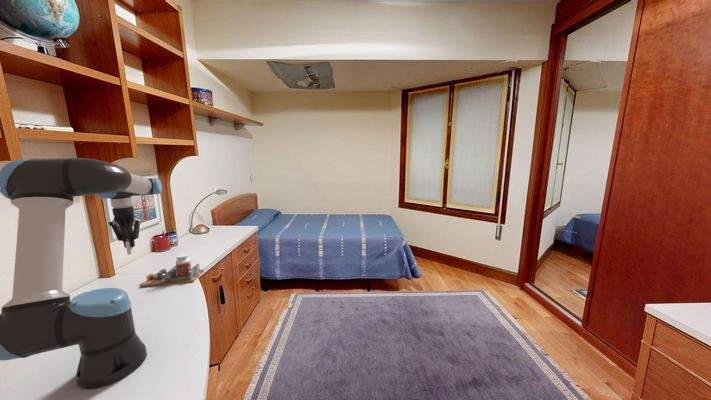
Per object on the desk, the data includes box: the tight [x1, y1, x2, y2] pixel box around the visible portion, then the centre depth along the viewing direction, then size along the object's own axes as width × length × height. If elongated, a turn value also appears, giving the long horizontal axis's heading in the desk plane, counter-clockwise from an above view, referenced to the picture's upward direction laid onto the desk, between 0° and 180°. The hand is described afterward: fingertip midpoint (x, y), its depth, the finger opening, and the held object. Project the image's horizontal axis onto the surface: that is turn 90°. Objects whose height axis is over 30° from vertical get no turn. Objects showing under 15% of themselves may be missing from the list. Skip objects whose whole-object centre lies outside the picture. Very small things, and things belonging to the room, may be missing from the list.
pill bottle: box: [175, 253, 192, 278], centre depth 132 cm, size 6×6×11 cm
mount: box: [139, 263, 205, 288], centre depth 132 cm, size 13×24×5 cm, turn 101°
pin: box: [146, 273, 165, 281], centre depth 131 cm, size 3×8×2 cm, turn 101°
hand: (131, 253), depth 127 cm, fingers closed
